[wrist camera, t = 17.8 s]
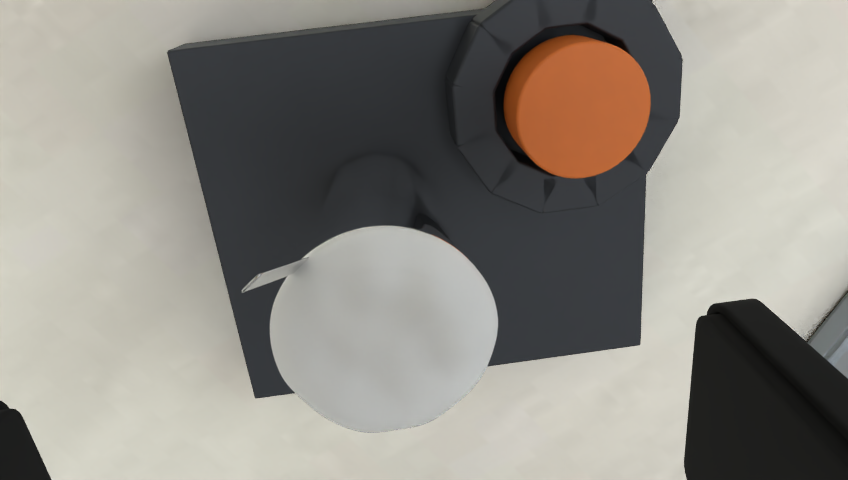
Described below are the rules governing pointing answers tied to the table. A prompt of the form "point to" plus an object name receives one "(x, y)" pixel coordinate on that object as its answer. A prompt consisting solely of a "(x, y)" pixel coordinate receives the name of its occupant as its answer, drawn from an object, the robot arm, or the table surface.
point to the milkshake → (380, 304)
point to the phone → (834, 337)
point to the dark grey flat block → (428, 161)
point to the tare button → (577, 105)
